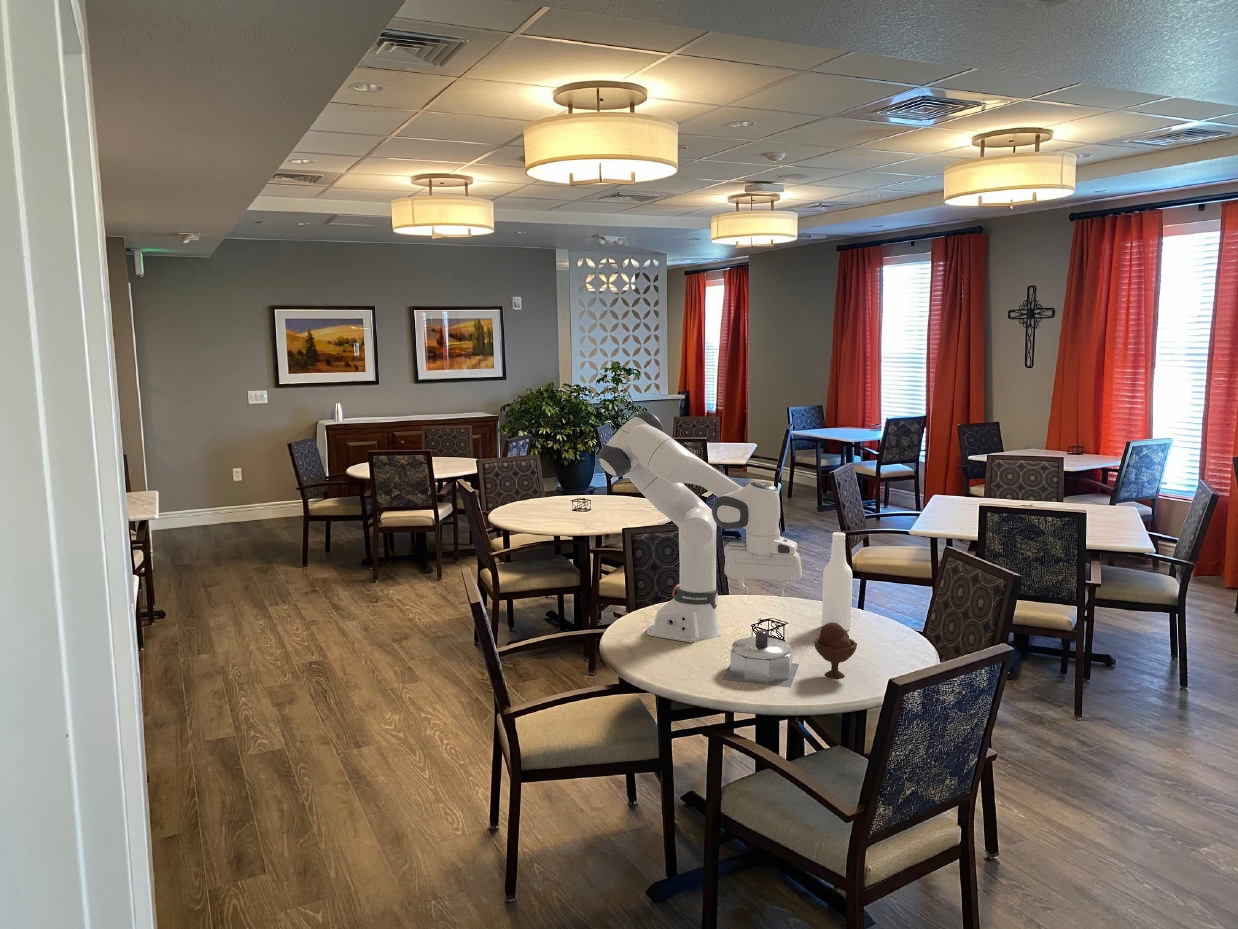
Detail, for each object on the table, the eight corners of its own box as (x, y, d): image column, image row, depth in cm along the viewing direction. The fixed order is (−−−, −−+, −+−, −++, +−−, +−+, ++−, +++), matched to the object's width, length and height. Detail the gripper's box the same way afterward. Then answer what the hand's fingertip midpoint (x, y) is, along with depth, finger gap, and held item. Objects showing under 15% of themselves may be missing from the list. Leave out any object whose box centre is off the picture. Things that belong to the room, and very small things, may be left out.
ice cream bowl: (857, 685, 234) (859, 629, 232) (813, 682, 236) (814, 626, 234) (855, 671, 244) (856, 617, 242) (812, 668, 246) (814, 615, 245)
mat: (721, 681, 237) (721, 679, 237) (734, 658, 254) (734, 657, 254) (790, 688, 232) (790, 687, 232) (799, 665, 249) (799, 663, 249)
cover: (726, 678, 238) (727, 638, 237) (737, 659, 253) (738, 620, 251) (786, 685, 233) (787, 643, 232) (794, 665, 248) (795, 626, 247)
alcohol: (820, 623, 286) (822, 530, 283) (848, 624, 286) (851, 530, 282) (823, 632, 278) (825, 536, 274) (852, 632, 277) (855, 536, 273)
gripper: (721, 544, 239) (721, 595, 241) (800, 548, 232) (799, 600, 234) (726, 539, 245) (726, 589, 246) (803, 543, 238) (802, 594, 240)
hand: (762, 594), depth 240 cm, fingers open, 8 cm apart
